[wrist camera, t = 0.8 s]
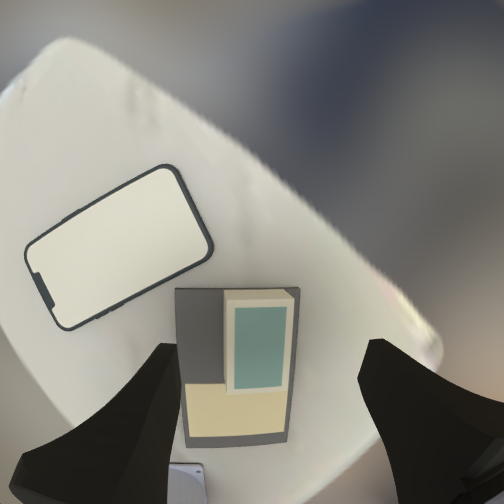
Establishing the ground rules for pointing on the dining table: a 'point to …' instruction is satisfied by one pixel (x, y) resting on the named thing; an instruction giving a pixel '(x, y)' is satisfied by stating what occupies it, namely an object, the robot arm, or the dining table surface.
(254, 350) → the card box
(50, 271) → the phone case
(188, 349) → the mat
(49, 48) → the dining table surface
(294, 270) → the dining table surface
